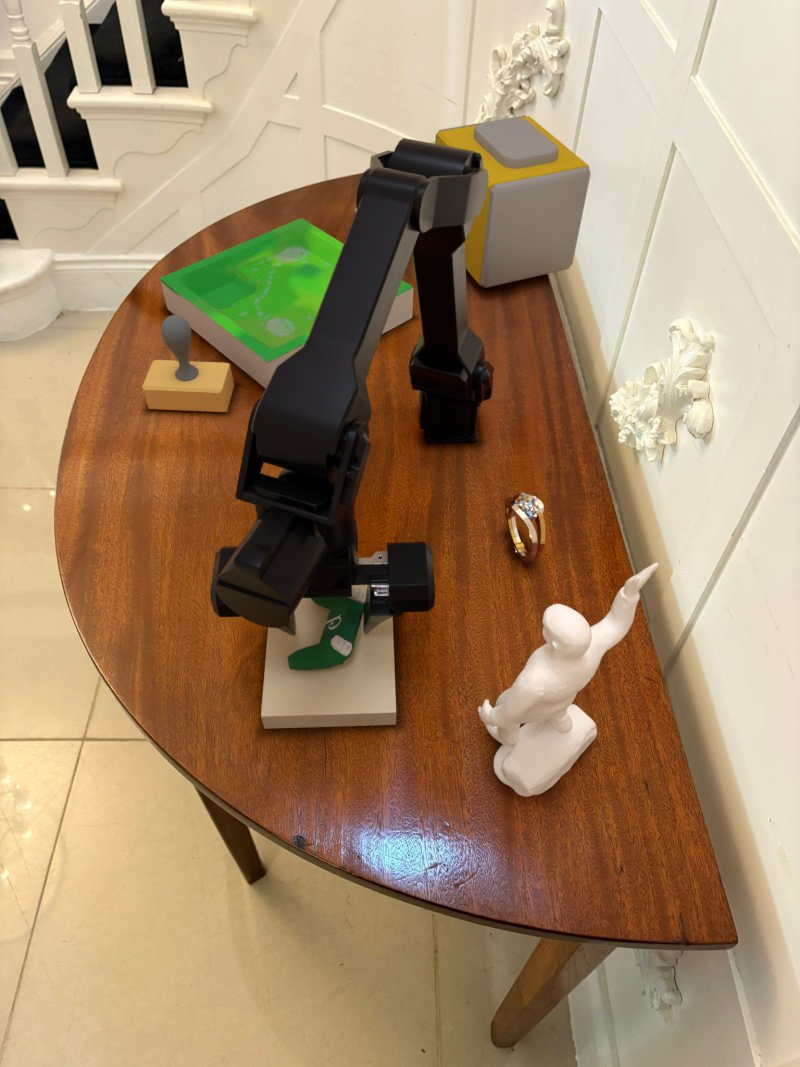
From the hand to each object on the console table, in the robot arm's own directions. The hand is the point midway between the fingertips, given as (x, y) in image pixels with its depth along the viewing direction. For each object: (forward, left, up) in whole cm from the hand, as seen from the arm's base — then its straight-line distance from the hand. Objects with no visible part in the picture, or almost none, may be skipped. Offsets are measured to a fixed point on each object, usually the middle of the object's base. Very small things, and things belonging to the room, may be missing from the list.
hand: (330, 630), depth 73 cm
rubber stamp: (+19, -38, -4) cm, 43 cm away
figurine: (-18, +11, -4) cm, 21 cm away
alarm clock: (-25, -70, -4) cm, 75 cm away
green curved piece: (0, 0, -1) cm, 1 cm away
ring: (-20, -12, -4) cm, 24 cm away
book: (0, 0, -4) cm, 4 cm away
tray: (+7, -56, -4) cm, 57 cm away
